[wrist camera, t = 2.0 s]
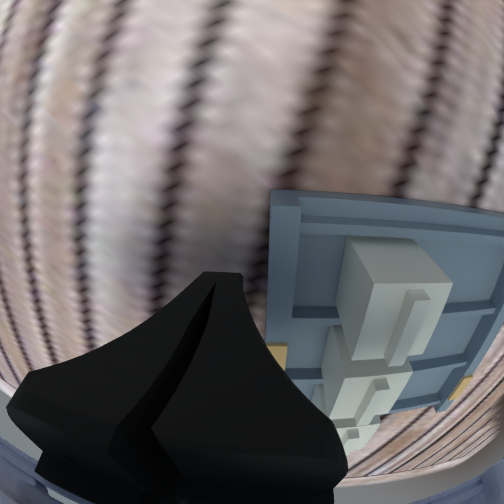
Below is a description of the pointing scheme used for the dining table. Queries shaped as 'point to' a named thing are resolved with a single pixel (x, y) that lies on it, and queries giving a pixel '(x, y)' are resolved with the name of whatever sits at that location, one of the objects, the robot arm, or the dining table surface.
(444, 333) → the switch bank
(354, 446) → the tab
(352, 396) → the tab
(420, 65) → the dining table surface
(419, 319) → the tab
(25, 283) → the dining table surface
